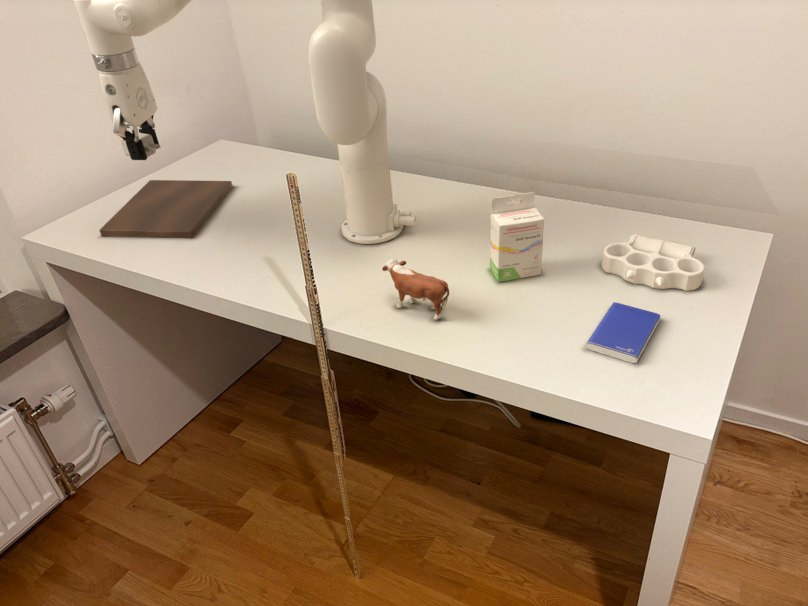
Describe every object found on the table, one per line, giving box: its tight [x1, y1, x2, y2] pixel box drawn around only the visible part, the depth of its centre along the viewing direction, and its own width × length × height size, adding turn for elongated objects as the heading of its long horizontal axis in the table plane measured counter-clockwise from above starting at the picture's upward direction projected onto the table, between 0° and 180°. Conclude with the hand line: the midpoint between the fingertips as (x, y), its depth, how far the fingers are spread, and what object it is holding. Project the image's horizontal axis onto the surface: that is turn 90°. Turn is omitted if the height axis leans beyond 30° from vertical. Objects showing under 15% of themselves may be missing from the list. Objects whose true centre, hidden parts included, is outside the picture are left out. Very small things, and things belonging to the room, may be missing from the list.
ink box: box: [489, 191, 545, 283], centre depth 124 cm, size 9×5×15 cm, turn 105°
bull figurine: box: [381, 258, 450, 321], centre depth 118 cm, size 4×13×8 cm, turn 55°
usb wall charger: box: [120, 131, 162, 158], centre depth 138 cm, size 4×7×4 cm, turn 65°
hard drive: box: [585, 301, 661, 364], centre depth 112 cm, size 2×8×12 cm
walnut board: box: [98, 179, 234, 239], centre depth 153 cm, size 20×24×2 cm
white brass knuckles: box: [601, 233, 705, 292], centre depth 126 cm, size 3×18×15 cm
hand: (145, 152), depth 140 cm, fingers closed on usb wall charger, 4 cm apart
